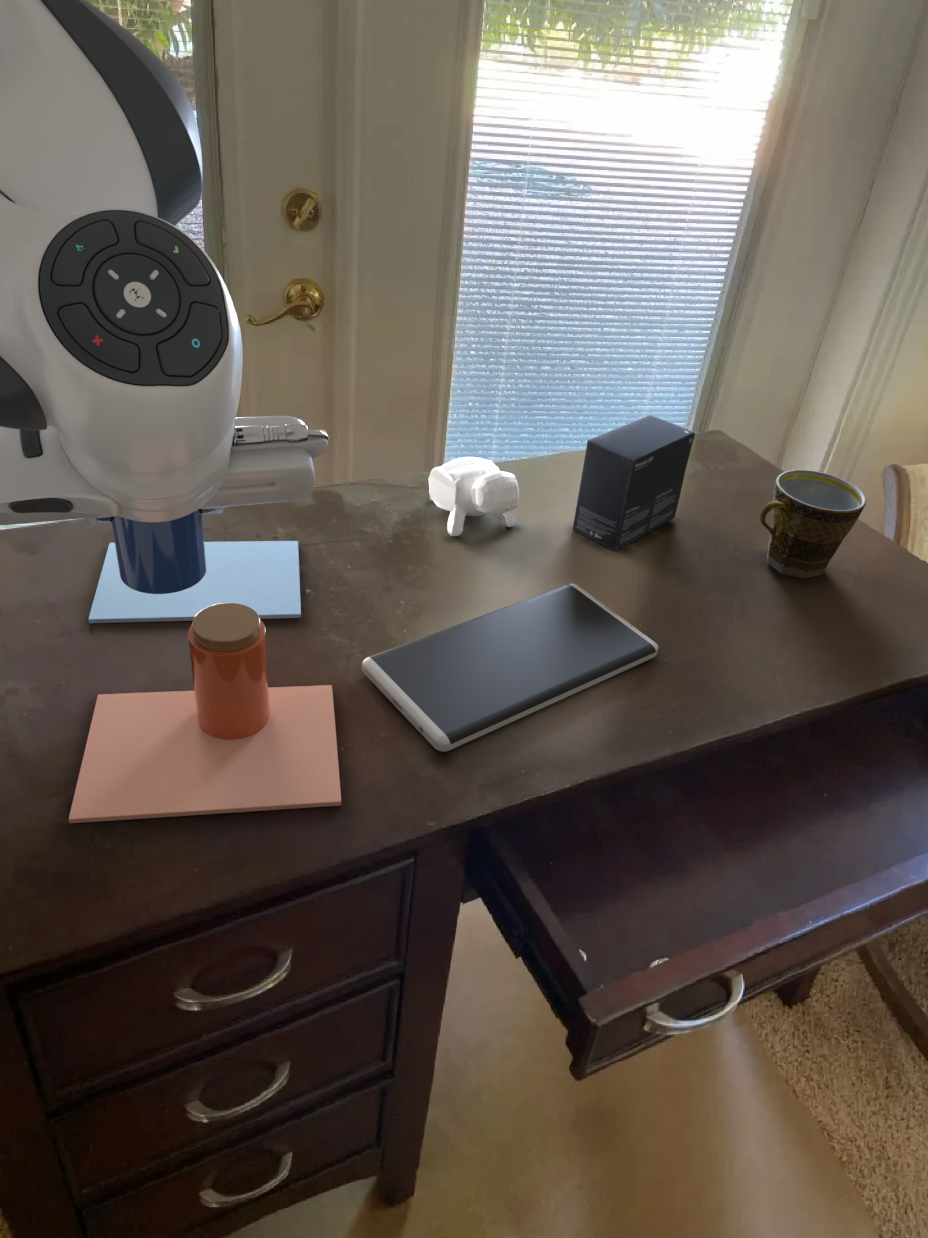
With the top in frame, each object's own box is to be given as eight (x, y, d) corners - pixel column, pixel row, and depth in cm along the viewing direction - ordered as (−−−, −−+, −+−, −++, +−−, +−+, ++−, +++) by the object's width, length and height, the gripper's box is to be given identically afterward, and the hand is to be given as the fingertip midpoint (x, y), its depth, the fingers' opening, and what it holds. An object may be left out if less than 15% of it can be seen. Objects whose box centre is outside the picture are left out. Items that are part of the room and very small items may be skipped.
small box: (631, 498, 116) (651, 412, 109) (675, 519, 113) (698, 431, 106) (569, 529, 108) (586, 438, 101) (614, 552, 105) (635, 460, 98)
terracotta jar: (195, 742, 73) (183, 646, 67) (199, 693, 78) (189, 600, 72) (269, 738, 74) (264, 643, 68) (269, 690, 79) (265, 598, 73)
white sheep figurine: (422, 526, 111) (475, 544, 98) (416, 458, 109) (470, 467, 96) (482, 517, 115) (542, 533, 102) (478, 450, 112) (538, 458, 99)
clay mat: (69, 824, 66) (68, 819, 65) (98, 698, 77) (97, 694, 76) (341, 805, 69) (341, 801, 69) (332, 688, 81) (332, 684, 80)
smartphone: (357, 671, 83) (358, 657, 82) (570, 592, 97) (573, 579, 96) (439, 759, 75) (441, 744, 73) (659, 658, 89) (663, 645, 88)
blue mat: (88, 623, 85) (87, 619, 85) (110, 546, 96) (109, 542, 96) (301, 618, 89) (301, 614, 88) (298, 544, 100) (298, 540, 99)
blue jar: (114, 595, 62) (92, 464, 56) (126, 549, 66) (107, 424, 61) (203, 593, 63) (191, 465, 57) (209, 549, 67) (198, 426, 62)
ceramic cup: (796, 536, 112) (822, 464, 106) (854, 578, 105) (886, 504, 99) (715, 552, 107) (737, 478, 101) (771, 598, 100) (798, 520, 94)
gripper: (325, 377, 53) (296, 454, 66) (-62, 391, 46) (-10, 475, 59) (342, 478, 52) (309, 537, 65) (-49, 508, 46) (1, 566, 59)
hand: (155, 507), depth 62 cm, fingers closed on blue jar, 6 cm apart
